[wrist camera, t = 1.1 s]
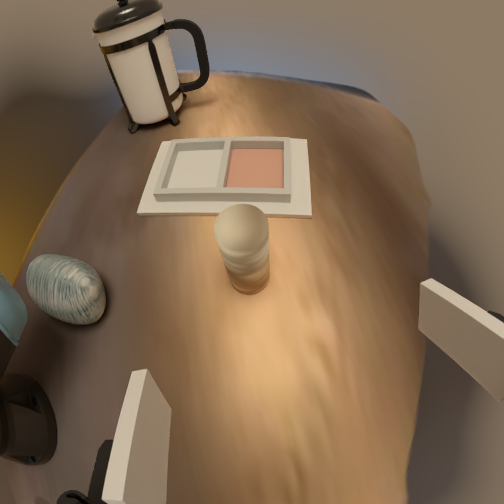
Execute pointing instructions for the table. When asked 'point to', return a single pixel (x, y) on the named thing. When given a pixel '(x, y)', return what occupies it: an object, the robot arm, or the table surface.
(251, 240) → the peg
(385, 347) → the table surface
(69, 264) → the yarn ball
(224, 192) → the white flat tray
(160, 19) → the coffee press
